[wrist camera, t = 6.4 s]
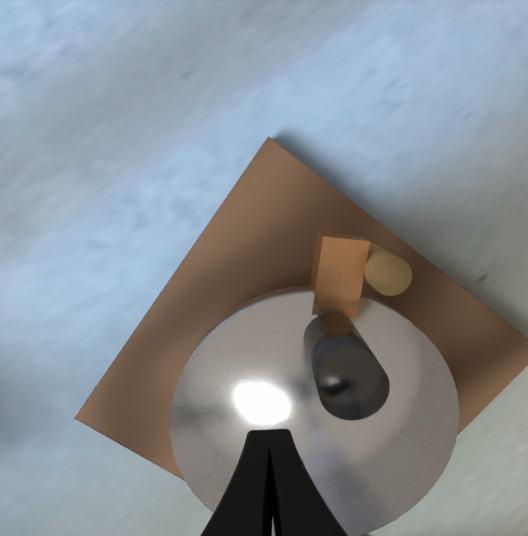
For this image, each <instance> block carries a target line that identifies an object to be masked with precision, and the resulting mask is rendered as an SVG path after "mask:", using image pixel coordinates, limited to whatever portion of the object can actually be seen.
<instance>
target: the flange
mask: <svg viewBox="0 0 528 536" xmlns="http://www.w3.org/2000/svg"><path fill="white" fill-rule="evenodd" d="M369 246H370V241H368V240H367V239H365V238H363V237H361V236H354V235H345V234H336V233H326V232H317V237H316V244H315V251H314V258H313V265H312V272H311V279H310V285H304V286H293V287H288V288H283V289H279V290H274V291H271V292H268V293H265V294H263V295H260V296H257V297H255V298H253V299H251V300H249V301H247V302H245V303H243V304H241V305H239V306H237V307H236V308H234V309H233V310H231V311H230V312H228V313H227V314H225V315H224V316H223V317H222V318H221V319H219V320H218V321H217V322H216V323H215V324H214V325H213V326H212V327H210V329H209V330H208V331H207V332H206V333H205V334H204V336H203V337H202V338H201V339H200V340H199V342H198V343H197V345H196V346H195V348H194V349H193V351H192V353H191V354H190V356H189V358H188V361H187V363H186V365H185V367H184V369H183V372H182V374H181V377H180V379H179V382H178V384H177V386H176V390H175V393H174V397H173V400H172V404H171V412H170V439H171V444H172V450H173V454H174V457H175V460H176V463H177V465H178V468H179V470H180V472H181V474H182V476H183V478H184V480H185V481H186V483H187V484H188V486H189V487H190V488H191V490H192V491H193V493H194V494H195V495H196V496H197V497H198V498H199V500H200V501H201V502H202V503H203V504H204V505H205V506H206V507H207V508H209V509H210V510H211V511H212V512H213V513H214V512H215V510H216V508H217V506H218V504H219V502H220V500H221V498H222V496H223V494H224V492H225V490H226V488H227V486H228V484H229V482H230V480H231V478H232V475H233V473H234V471H235V468H236V466H237V464H238V461H239V458H240V456H241V453H242V450H243V447H244V444H245V441H246V436H247V433H248V432H249V431H250V430H267V429H288V430H290V431H291V434H292V438H293V441H294V443H295V446H296V448H297V451H298V453H299V455H300V457H301V460H302V462H303V464H304V466H305V468H306V470H307V471H308V473H309V475H310V477H311V479H312V481H313V483H314V484H315V486H316V488H317V490H318V491H319V493H320V495H321V496H322V498H323V499H324V501H325V503H326V504H327V506H328V507H329V509H330V511H331V512H332V514H333V515H334V517H335V518H336V519H337V521H338V522H339V524H340V525H341V527H342V528H343V529H344V531H345V532H346V533H347V535H348V536H361V535H364V534H367V533H369V532H372V531H374V530H377V529H379V528H381V527H383V526H385V525H387V524H388V523H390V522H392V521H394V520H396V519H397V518H398V517H400V516H401V515H403V514H404V513H406V512H407V511H409V510H410V509H411V508H412V507H413V506H414V505H416V504H417V503H418V502H419V501H420V500H421V499H422V498H423V497H424V496H425V495H426V494H427V493H428V492H429V491H430V489H431V488H432V487H433V486H434V484H435V483H436V482H437V480H438V479H439V477H440V476H441V474H442V473H443V471H444V469H445V467H446V465H447V463H448V461H449V460H450V457H451V454H452V451H453V449H454V446H455V442H456V438H457V433H458V428H459V402H458V394H457V390H456V386H455V382H454V379H453V377H452V374H451V372H450V370H449V367H448V365H447V363H446V361H445V360H444V358H443V357H442V355H441V354H440V352H439V350H438V349H437V348H436V346H435V345H434V344H433V343H432V342H431V341H430V340H429V338H428V337H427V336H426V335H425V334H424V333H423V332H422V331H421V330H419V329H418V328H417V327H416V326H415V325H414V324H413V323H412V322H411V321H410V320H408V319H407V318H406V317H405V316H404V315H402V314H401V313H400V312H399V311H398V310H396V309H394V308H393V307H391V306H390V305H388V304H387V303H385V302H383V301H381V300H379V299H377V298H375V297H372V296H370V295H368V294H365V293H362V292H361V289H362V284H363V279H364V273H365V267H366V262H367V257H368V251H369ZM272 536H275V531H274V523H273V520H272Z"/></svg>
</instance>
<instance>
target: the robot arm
mask: <svg viewBox="0 0 528 536" xmlns="http://www.w3.org/2000/svg"><path fill="white" fill-rule="evenodd" d="M272 520H273V523H274V531H275V536H348V535H347V533H346V532H345V531H344V529H343V528H342V527H341V525H340V524H339V522H338V521H337V519H336V518H335V517H334V515H333V514H332V512H331V511H330V509H329V507H328V506H327V504H326V503H325V501H324V499H323V498H322V496H321V495H320V493H319V491H318V490H317V488H316V486H315V484H314V483H313V481H312V479H311V477H310V475H309V473H308V471H307V470H306V468H305V466H304V464H303V462H302V460H301V457H300V455H299V453H298V451H297V448H296V446H295V443H294V441H293V438H292V434H291V431H290V430H288V429H267V430H250V431H249V432H248V433H247V436H246V441H245V444H244V447H243V450H242V453H241V456H240V458H239V461H238V464H237V466H236V468H235V471H234V473H233V475H232V478H231V480H230V482H229V484H228V486H227V488H226V490H225V492H224V494H223V496H222V498H221V500H220V502H219V504H218V506H217V508H216V510H215V512H214V514H213V515H212V517H211V519H210V521H209V522H208V524H207V526H206V527H205V529H204V531H203V532H202V534H201V536H272Z"/></svg>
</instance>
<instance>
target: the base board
mask: <svg viewBox="0 0 528 536" xmlns="http://www.w3.org/2000/svg"><path fill="white" fill-rule="evenodd" d="M317 232H326V233H336V234H345V235H354V236H361V237H363V238H365V239H367V240H368V241H370V246H369V251H368V257H367V262H366V267H365V273H364V279H363V284H362V289H361V292H362V293H365V294H368V295H370V296H372V297H375V298H377V299H379V300H381V301H383V302H385V303H387V304H388V305H390V306H391V307H393V308H394V309H396V310H398V311H399V312H400V313H401V314H402V315H404V316H405V317H406V318H407V319H408V320H410V321H411V322H412V323H413V324H414V325H415V326H416V327H417V328H418V329H419V330H421V331H422V332H423V333H424V334H425V335H426V336H427V337H428V338H429V340H430V341H431V342H432V343H433V344H434V345H435V346H436V348H437V349H438V350H439V352H440V354H441V355H442V357H443V358H444V360H445V361H446V363H447V365H448V367H449V370H450V372H451V374H452V377H453V379H454V382H455V386H456V390H457V394H458V402H459V428H458V433H457V435H458V434H459V433H460V432H461V431H462V430H463V429H464V428H465V427H466V426H467V425H468V424H469V423H470V422H471V421H472V420H473V419H474V418H475V417H476V416H477V415H478V414H479V413H480V412H481V411H482V410H483V409H484V408H485V407H486V406H487V405H488V404H489V403H490V402H491V401H492V400H493V399H494V398H495V397H496V396H497V395H498V394H499V393H500V392H501V391H502V390H503V389H504V388H505V387H506V386H507V385H508V384H509V383H510V382H511V381H512V380H513V379H514V378H515V377H516V376H517V375H518V374H519V373H520V372H521V371H522V370H523V369H524V368H525V367H526V366H527V365H528V338H527V337H525V336H524V335H523V334H521V333H520V332H519V331H518V330H516V329H515V328H514V327H512V326H511V325H510V324H509V323H507V322H506V321H505V320H503V319H502V318H501V317H500V316H498V315H497V314H496V313H494V312H493V311H492V310H491V309H489V308H488V307H487V306H485V305H484V304H483V303H482V302H480V301H479V300H478V299H476V298H475V297H474V296H473V295H471V294H470V293H469V292H467V291H466V290H465V289H464V288H462V287H461V286H460V285H458V284H457V283H456V282H455V281H453V280H452V279H451V278H449V277H448V276H447V275H446V274H444V273H443V272H442V271H440V270H439V269H438V268H437V267H435V266H434V265H433V264H431V263H430V262H429V261H428V260H426V259H425V258H424V257H422V256H421V255H420V254H419V253H417V252H416V251H415V250H413V249H412V248H411V247H410V246H408V245H407V244H406V243H404V242H403V241H402V240H401V239H399V238H398V237H397V236H395V235H394V234H393V233H392V232H390V231H389V230H388V229H386V228H385V227H384V226H383V225H381V224H380V223H379V222H377V221H376V220H375V219H374V218H372V217H371V216H370V215H368V214H367V213H366V212H365V211H363V210H362V209H361V208H359V207H358V206H357V205H356V204H354V203H353V202H352V201H350V200H349V199H348V198H347V197H345V196H344V195H343V194H341V193H340V192H339V191H338V190H336V189H335V188H334V187H333V186H331V185H330V184H329V183H327V182H326V181H325V180H324V179H322V178H321V177H320V176H318V175H317V174H316V173H315V172H313V171H312V170H311V169H309V168H308V167H307V166H306V165H304V164H303V163H302V162H300V161H299V160H298V159H297V158H295V157H294V156H293V155H291V154H290V153H289V152H288V151H286V150H285V149H284V148H282V147H281V146H280V145H279V144H277V143H276V142H275V141H273V140H272V139H271V138H270V137H268V138H267V139H266V141H265V142H264V143H263V145H262V146H261V148H260V149H259V151H258V152H257V154H256V155H255V157H254V158H253V159H252V161H251V162H250V164H249V165H248V167H247V168H246V170H245V171H244V172H243V174H242V175H241V177H240V178H239V180H238V181H237V183H236V184H235V186H234V187H233V188H232V190H231V191H230V193H229V194H228V196H227V197H226V199H225V200H224V202H223V203H222V204H221V206H220V207H219V209H218V210H217V212H216V213H215V215H214V216H213V217H212V219H211V220H210V222H209V223H208V225H207V226H206V228H205V229H204V231H203V232H202V233H201V235H200V236H199V238H198V239H197V241H196V242H195V244H194V245H193V247H192V248H191V249H190V251H189V252H188V254H187V255H186V257H185V258H184V260H183V261H182V262H181V264H180V265H179V267H178V268H177V270H176V271H175V273H174V274H173V276H172V277H171V278H170V280H169V281H168V283H167V284H166V286H165V287H164V289H163V290H162V292H161V293H160V294H159V296H158V297H157V299H156V300H155V302H154V303H153V305H152V306H151V308H150V309H149V310H148V312H147V313H146V315H145V316H144V318H143V319H142V321H141V322H140V323H139V325H138V326H137V328H136V329H135V331H134V332H133V334H132V335H131V337H130V338H129V339H128V341H127V342H126V344H125V345H124V347H123V348H122V350H121V351H120V353H119V354H118V355H117V357H116V358H115V360H114V361H113V363H112V364H111V366H110V367H109V368H108V370H107V371H106V373H105V374H104V376H103V377H102V379H101V380H100V382H99V383H98V384H97V386H96V387H95V389H94V390H93V392H92V393H91V395H90V396H89V398H88V399H87V400H86V402H85V403H84V405H83V406H82V408H81V409H80V411H79V412H78V414H77V415H76V416H75V418H74V419H76V420H78V421H80V422H81V423H83V424H85V425H87V426H89V427H90V428H92V429H94V430H96V431H97V432H99V433H101V434H103V435H105V436H106V437H108V438H110V439H112V440H113V441H115V442H117V443H119V444H120V445H122V446H124V447H126V448H128V449H129V450H131V451H133V452H135V453H136V454H138V455H140V456H142V457H144V458H145V459H147V460H149V461H151V462H152V463H154V464H156V465H158V466H160V467H161V468H163V469H165V470H167V471H168V472H170V473H172V474H174V475H176V476H177V477H179V478H181V479H183V480H184V478H183V476H182V474H181V472H180V470H179V468H178V465H177V463H176V460H175V457H174V454H173V450H172V444H171V439H170V412H171V404H172V400H173V397H174V393H175V390H176V386H177V384H178V382H179V379H180V377H181V374H182V372H183V369H184V367H185V365H186V363H187V361H188V358H189V356H190V354H191V353H192V351H193V349H194V348H195V346H196V345H197V343H198V342H199V340H200V339H201V338H202V337H203V336H204V334H205V333H206V332H207V331H208V330H209V329H210V327H212V326H213V325H214V324H215V323H216V322H217V321H218V320H219V319H221V318H222V317H223V316H224V315H225V314H227V313H228V312H230V311H231V310H233V309H234V308H236V307H237V306H239V305H241V304H243V303H245V302H247V301H249V300H251V299H253V298H255V297H257V296H260V295H263V294H265V293H268V292H271V291H274V290H279V289H283V288H288V287H293V286H304V285H310V279H311V272H312V265H313V258H314V251H315V244H316V237H317ZM184 481H185V480H184Z"/></svg>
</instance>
